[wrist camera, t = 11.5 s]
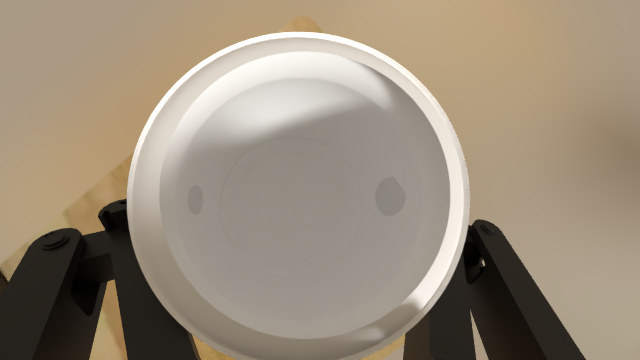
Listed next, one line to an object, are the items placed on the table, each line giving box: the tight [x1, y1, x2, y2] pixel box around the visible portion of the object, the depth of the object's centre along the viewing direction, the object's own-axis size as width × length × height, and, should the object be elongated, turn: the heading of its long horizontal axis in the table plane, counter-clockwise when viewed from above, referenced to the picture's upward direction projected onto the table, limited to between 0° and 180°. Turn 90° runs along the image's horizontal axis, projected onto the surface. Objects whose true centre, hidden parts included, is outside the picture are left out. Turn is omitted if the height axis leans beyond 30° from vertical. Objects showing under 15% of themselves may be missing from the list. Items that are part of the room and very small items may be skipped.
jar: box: [127, 32, 470, 360], centre depth 14 cm, size 11×10×15 cm
